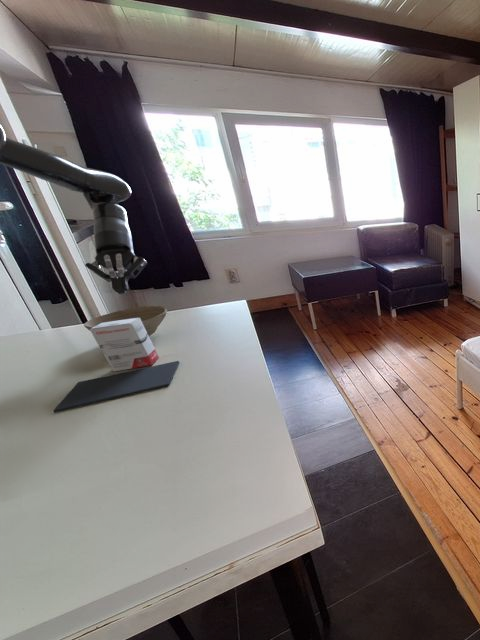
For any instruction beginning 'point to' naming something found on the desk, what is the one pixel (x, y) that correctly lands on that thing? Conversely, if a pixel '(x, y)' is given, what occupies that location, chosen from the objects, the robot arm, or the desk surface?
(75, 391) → the mat
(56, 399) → the desk surface
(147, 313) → the bowl
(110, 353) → the ink box
